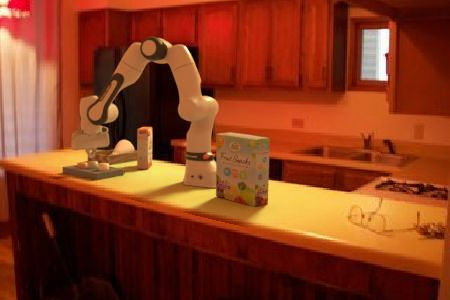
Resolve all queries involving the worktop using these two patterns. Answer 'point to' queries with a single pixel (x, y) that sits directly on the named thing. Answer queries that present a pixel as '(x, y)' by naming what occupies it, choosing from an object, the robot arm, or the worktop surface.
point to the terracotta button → (82, 164)
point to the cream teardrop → (123, 148)
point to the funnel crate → (113, 157)
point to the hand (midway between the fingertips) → (91, 157)
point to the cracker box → (144, 147)
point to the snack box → (242, 168)
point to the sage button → (92, 164)
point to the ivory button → (103, 167)
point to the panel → (93, 172)
